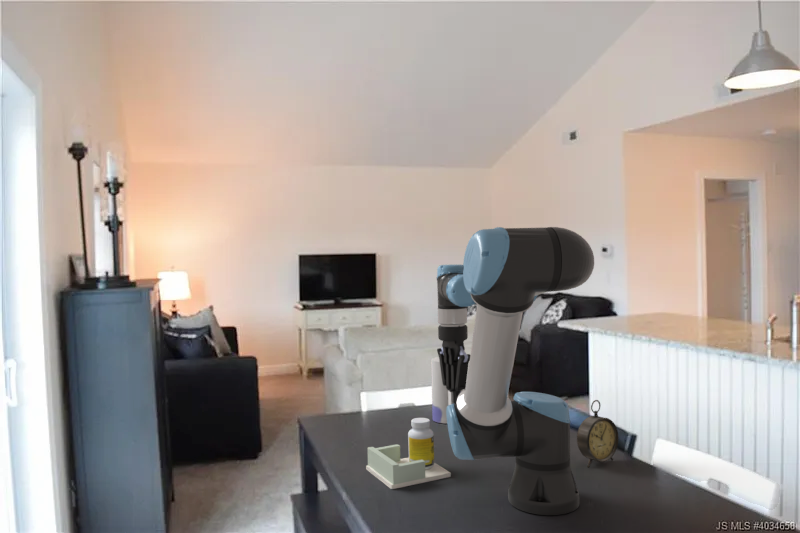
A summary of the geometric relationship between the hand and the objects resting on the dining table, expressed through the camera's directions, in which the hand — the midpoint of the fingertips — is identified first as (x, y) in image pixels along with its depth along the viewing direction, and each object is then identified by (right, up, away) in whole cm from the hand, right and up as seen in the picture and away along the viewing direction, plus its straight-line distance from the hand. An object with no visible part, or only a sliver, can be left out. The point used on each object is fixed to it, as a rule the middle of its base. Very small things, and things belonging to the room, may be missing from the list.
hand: (454, 415), depth 160 cm
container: (+1, -12, +41) cm, 42 cm away
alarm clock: (+36, -12, -2) cm, 38 cm away
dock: (-12, -13, -6) cm, 19 cm away
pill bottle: (-9, -12, -4) cm, 15 cm away
